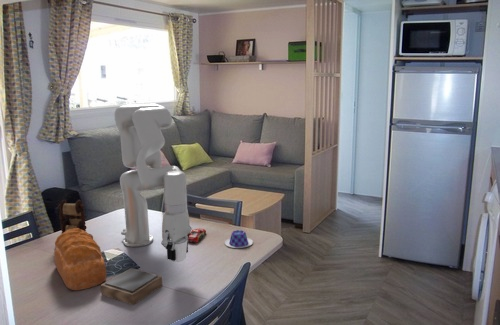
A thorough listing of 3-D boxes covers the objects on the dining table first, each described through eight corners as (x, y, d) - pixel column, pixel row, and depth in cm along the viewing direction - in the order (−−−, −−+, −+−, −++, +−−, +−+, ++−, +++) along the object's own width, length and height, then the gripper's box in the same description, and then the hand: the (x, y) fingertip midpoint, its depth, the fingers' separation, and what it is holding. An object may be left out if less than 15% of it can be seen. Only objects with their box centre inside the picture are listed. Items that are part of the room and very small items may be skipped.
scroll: (99, 238, 190) (95, 195, 186) (83, 252, 176) (78, 205, 171) (67, 237, 191) (62, 194, 187) (49, 251, 177) (43, 205, 173)
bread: (90, 256, 171) (87, 220, 168) (110, 283, 150) (106, 241, 147) (53, 266, 164) (48, 227, 161) (68, 294, 142) (63, 251, 139)
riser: (101, 294, 142) (100, 283, 141) (131, 276, 154) (131, 266, 153) (133, 304, 135) (132, 293, 134) (162, 285, 147) (161, 274, 146)
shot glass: (183, 263, 146) (183, 244, 144) (164, 261, 147) (164, 242, 146) (190, 254, 152) (190, 236, 151) (172, 253, 154) (171, 235, 152)
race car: (196, 232, 196) (196, 224, 196) (207, 233, 195) (207, 225, 194) (185, 243, 184) (184, 234, 183) (196, 244, 183) (196, 235, 182)
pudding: (246, 251, 175) (246, 239, 174) (220, 247, 179) (219, 235, 178) (257, 240, 186) (256, 229, 185) (231, 237, 190) (231, 225, 189)
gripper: (182, 198, 155) (184, 244, 159) (150, 213, 140) (153, 263, 144) (199, 201, 151) (200, 248, 155) (168, 217, 136) (170, 268, 141)
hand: (177, 255), depth 150 cm, fingers closed on shot glass, 6 cm apart
